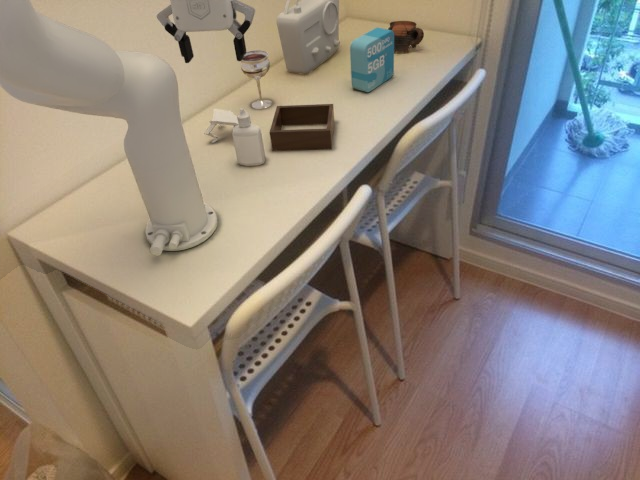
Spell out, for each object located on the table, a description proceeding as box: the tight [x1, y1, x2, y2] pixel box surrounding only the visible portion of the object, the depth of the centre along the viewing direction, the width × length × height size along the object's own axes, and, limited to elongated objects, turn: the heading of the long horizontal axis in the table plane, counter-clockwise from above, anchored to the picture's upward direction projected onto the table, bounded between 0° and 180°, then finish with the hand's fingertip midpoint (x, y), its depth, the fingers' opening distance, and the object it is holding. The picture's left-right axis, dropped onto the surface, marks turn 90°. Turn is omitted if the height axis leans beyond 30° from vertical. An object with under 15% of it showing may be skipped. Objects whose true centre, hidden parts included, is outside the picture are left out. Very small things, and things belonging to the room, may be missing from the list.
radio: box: [276, 0, 341, 75], centre depth 138 cm, size 22×8×25 cm, turn 150°
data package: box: [349, 27, 395, 93], centre depth 129 cm, size 12×4×12 cm, turn 140°
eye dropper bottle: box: [231, 107, 266, 167], centre depth 106 cm, size 4×6×12 cm
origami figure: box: [203, 108, 239, 143], centre depth 116 cm, size 12×8×5 cm
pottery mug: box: [387, 20, 425, 53], centre depth 147 cm, size 12×10×8 cm
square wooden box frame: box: [269, 103, 335, 152], centre depth 114 cm, size 12×13×4 cm
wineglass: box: [240, 49, 272, 110], centre depth 125 cm, size 7×7×12 cm
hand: (215, 59), depth 96 cm, fingers open, 9 cm apart
